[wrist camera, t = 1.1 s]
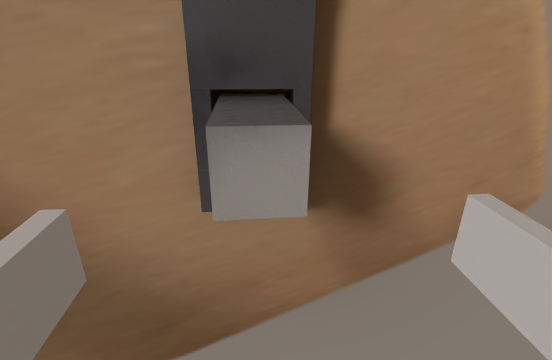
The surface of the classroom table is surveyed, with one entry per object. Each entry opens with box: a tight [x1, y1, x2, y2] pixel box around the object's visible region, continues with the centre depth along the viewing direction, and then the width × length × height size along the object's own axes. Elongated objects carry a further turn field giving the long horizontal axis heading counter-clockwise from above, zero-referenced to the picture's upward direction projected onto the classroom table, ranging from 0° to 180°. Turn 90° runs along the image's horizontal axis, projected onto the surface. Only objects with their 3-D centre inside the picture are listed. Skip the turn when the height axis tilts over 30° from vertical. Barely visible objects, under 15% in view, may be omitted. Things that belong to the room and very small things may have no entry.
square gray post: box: [206, 93, 312, 221], centre depth 21 cm, size 5×5×12 cm
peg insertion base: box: [182, 0, 316, 212], centre depth 23 cm, size 9×28×3 cm, turn 0°
